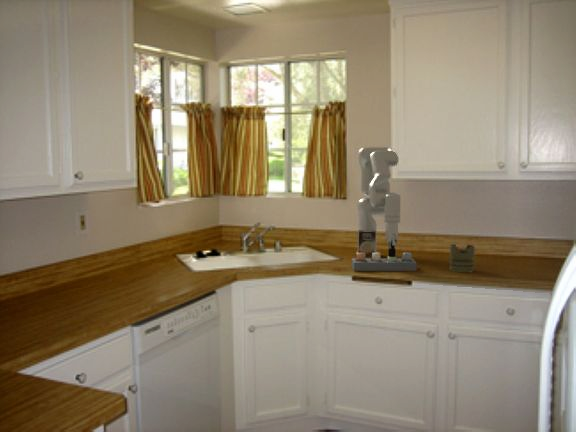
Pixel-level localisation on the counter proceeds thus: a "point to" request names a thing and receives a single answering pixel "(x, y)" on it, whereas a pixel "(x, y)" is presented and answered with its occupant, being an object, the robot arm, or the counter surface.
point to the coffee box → (366, 242)
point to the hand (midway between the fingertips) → (391, 256)
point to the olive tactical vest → (462, 258)
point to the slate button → (406, 256)
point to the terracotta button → (360, 256)
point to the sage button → (391, 258)
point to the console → (384, 265)
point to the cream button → (376, 256)
